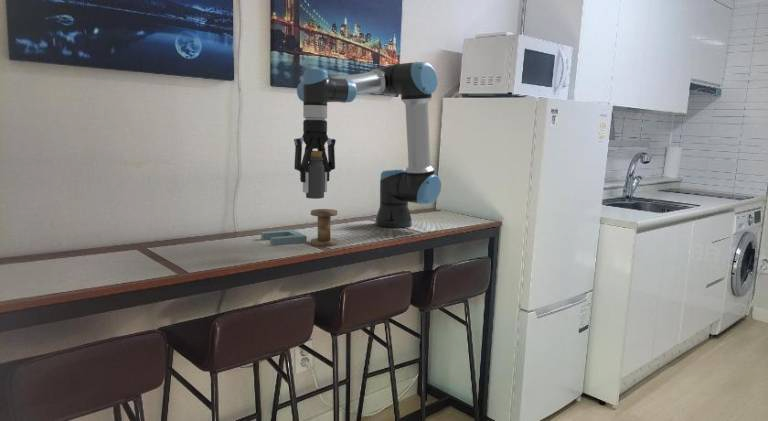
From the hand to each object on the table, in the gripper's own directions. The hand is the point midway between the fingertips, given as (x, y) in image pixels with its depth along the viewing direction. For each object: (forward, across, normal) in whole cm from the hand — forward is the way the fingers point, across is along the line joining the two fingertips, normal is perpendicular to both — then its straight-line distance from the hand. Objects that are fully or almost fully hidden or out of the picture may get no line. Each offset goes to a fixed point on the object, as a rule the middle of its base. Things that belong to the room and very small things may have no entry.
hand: (314, 191), depth 176 cm
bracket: (+19, +4, -17) cm, 26 cm away
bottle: (+2, 0, 0) cm, 2 cm away
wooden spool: (+19, -6, -7) cm, 21 cm away
